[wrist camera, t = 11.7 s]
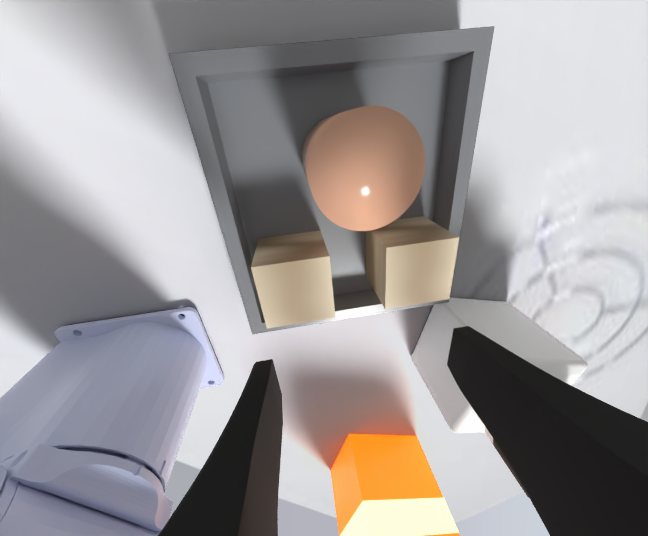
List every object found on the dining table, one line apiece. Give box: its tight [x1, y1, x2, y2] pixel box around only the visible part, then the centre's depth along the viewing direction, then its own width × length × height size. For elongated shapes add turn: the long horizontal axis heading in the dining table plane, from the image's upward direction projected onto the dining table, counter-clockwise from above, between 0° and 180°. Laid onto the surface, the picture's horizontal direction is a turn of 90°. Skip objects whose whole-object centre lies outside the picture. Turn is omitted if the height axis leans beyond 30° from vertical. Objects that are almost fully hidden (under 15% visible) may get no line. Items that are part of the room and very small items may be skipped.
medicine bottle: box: [411, 297, 588, 497], centre depth 18 cm, size 7×7×12 cm
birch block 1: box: [251, 230, 335, 329], centre depth 16 cm, size 4×4×4 cm
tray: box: [169, 26, 494, 334], centre depth 16 cm, size 14×15×2 cm
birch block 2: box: [366, 216, 459, 309], centre depth 16 cm, size 4×4×4 cm
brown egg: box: [302, 106, 425, 231], centre depth 12 cm, size 4×4×6 cm
